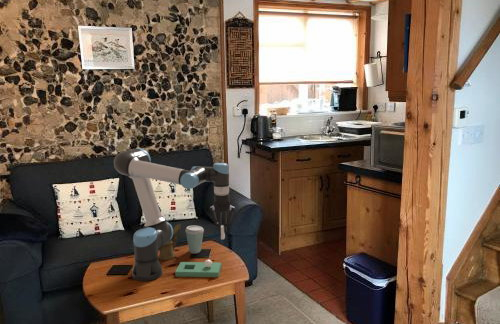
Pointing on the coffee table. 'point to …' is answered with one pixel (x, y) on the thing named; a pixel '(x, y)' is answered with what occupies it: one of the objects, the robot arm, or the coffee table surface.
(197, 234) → the disposable coffee cup
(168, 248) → the wooden mug
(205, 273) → the putting mat
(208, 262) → the ball
